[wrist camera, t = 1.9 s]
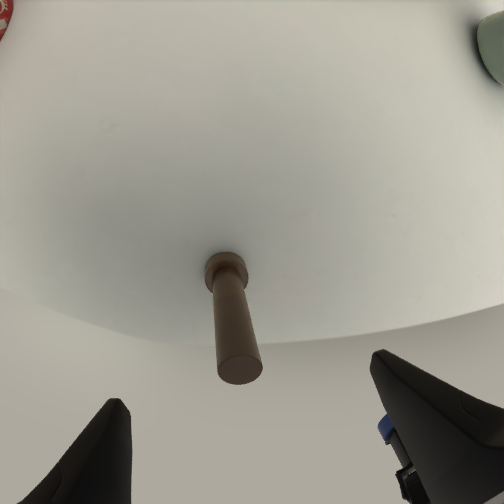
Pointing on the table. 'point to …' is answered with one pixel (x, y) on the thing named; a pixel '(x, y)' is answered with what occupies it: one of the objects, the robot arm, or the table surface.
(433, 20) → the table surface
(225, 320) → the dark brown collared rod
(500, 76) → the cup
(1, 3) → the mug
